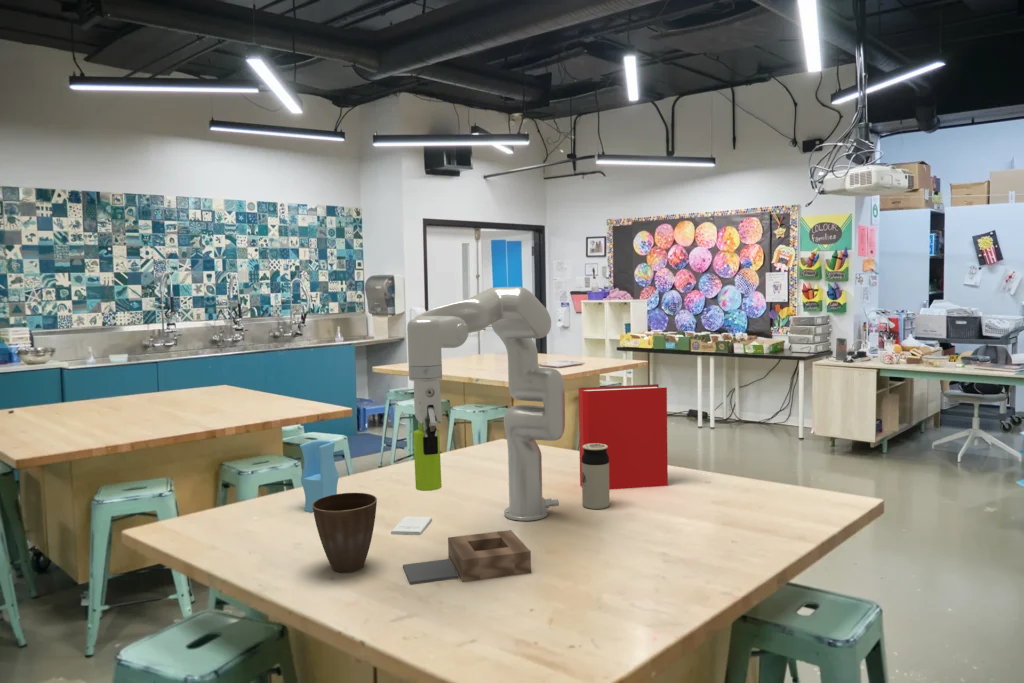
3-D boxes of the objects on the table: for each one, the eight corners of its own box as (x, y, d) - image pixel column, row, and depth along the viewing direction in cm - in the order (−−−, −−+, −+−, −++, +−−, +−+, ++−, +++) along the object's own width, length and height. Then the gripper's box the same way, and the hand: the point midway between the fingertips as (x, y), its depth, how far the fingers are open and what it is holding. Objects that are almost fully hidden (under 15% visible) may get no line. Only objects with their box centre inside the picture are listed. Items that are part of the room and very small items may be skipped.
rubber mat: (448, 561, 182) (448, 558, 182) (458, 577, 172) (458, 575, 172) (402, 567, 179) (402, 564, 179) (410, 584, 169) (409, 581, 169)
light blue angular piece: (302, 511, 227) (299, 445, 225) (318, 503, 234) (315, 439, 233) (324, 513, 224) (321, 446, 222) (339, 506, 231) (337, 441, 230)
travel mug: (609, 501, 228) (608, 442, 227) (610, 509, 220) (609, 448, 219) (582, 501, 229) (581, 443, 228) (582, 509, 221) (581, 448, 220)
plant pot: (348, 584, 170) (345, 514, 169) (301, 572, 178) (298, 505, 177) (392, 562, 183) (389, 497, 181) (347, 552, 190) (344, 489, 189)
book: (659, 479, 253) (658, 384, 250) (667, 485, 245) (666, 387, 242) (579, 484, 249) (577, 387, 246) (585, 491, 241) (583, 391, 238)
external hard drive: (432, 522, 215) (420, 537, 202) (404, 521, 216) (390, 536, 204) (432, 516, 215) (420, 531, 202) (404, 516, 216) (390, 530, 203)
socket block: (511, 549, 189) (511, 530, 189) (531, 572, 174) (530, 551, 174) (448, 557, 185) (447, 537, 185) (462, 581, 170) (462, 559, 169)
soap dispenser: (447, 484, 177) (443, 398, 176) (435, 491, 170) (431, 403, 169) (424, 482, 179) (420, 398, 178) (411, 490, 172) (407, 402, 171)
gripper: (449, 376, 165) (452, 457, 167) (434, 368, 182) (437, 442, 183) (415, 378, 163) (418, 460, 164) (403, 369, 179) (406, 445, 181)
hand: (428, 450), depth 174 cm, fingers closed on soap dispenser, 5 cm apart
